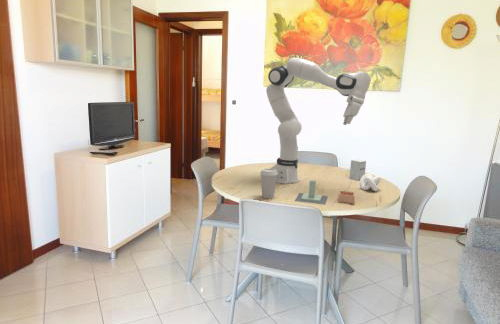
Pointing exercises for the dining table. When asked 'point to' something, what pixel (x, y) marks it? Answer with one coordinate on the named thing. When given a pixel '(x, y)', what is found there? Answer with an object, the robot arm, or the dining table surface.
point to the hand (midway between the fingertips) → (346, 124)
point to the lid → (311, 193)
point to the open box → (346, 197)
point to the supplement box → (357, 169)
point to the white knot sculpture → (369, 182)
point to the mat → (323, 201)
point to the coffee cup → (268, 182)
